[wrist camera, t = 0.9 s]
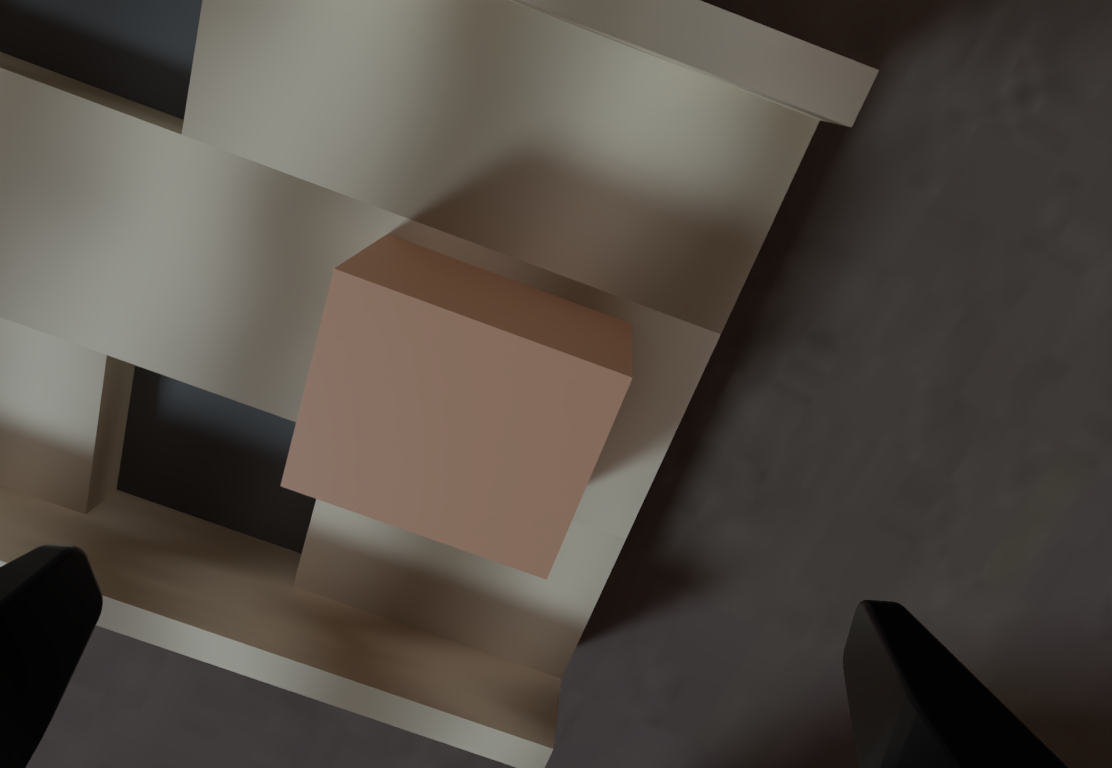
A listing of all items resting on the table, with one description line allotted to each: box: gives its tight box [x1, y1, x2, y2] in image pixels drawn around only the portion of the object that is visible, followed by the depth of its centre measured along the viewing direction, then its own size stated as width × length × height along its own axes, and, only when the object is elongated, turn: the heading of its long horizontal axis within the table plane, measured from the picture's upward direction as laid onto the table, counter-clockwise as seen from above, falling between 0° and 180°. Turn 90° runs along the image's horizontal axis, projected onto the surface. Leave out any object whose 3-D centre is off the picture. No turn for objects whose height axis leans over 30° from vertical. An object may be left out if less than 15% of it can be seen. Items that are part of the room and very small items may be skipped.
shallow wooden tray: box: [0, 0, 879, 768], centre depth 18 cm, size 24×18×4 cm
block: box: [281, 234, 633, 580], centre depth 17 cm, size 6×5×4 cm
